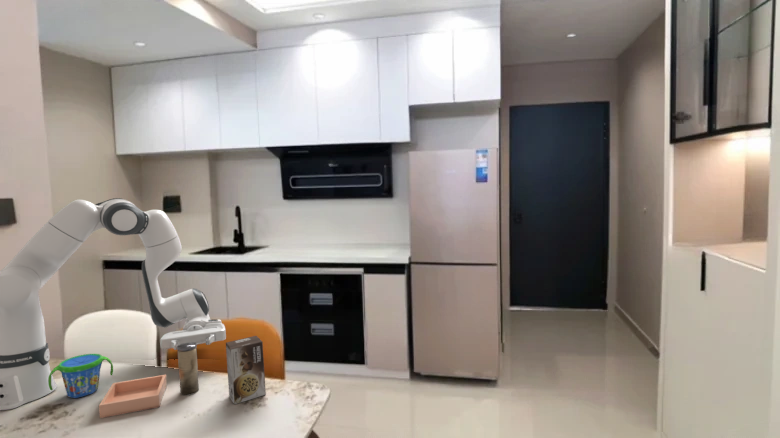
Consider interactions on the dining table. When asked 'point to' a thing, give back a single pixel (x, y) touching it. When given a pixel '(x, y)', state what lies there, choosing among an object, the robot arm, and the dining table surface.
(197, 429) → the dining table surface
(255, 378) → the coffee box
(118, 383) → the terracotta tray
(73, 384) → the snack cup
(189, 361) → the bronze tin
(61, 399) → the dining table surface
